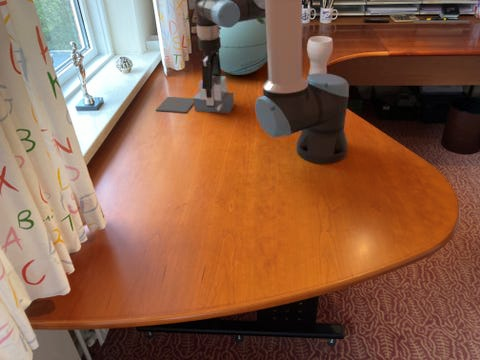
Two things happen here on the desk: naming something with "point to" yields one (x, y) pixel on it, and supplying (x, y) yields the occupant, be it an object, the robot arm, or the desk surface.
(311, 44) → the cup
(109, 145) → the desk surface
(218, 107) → the vise
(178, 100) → the mat
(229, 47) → the globe
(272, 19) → the robot arm
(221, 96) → the collar
